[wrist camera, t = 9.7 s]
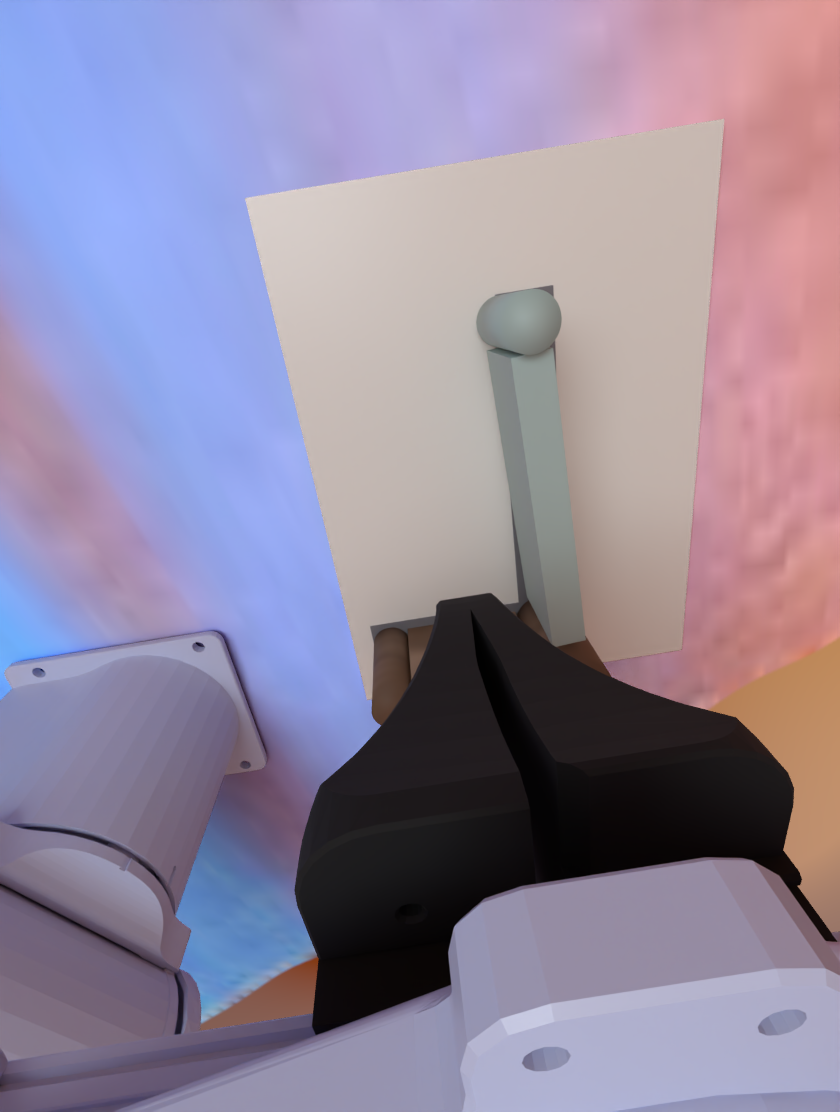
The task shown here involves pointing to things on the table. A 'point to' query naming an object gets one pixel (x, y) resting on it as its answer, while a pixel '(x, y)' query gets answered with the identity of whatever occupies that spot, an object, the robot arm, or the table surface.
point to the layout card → (465, 382)
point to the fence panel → (535, 453)
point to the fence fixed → (405, 652)
